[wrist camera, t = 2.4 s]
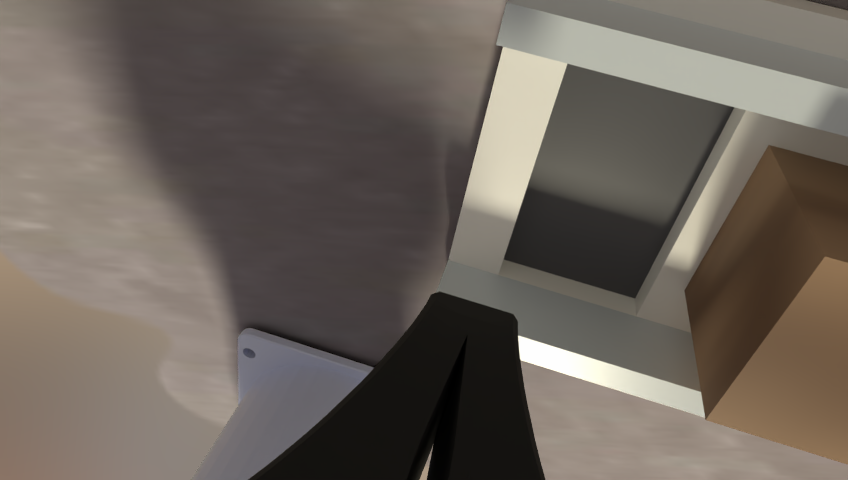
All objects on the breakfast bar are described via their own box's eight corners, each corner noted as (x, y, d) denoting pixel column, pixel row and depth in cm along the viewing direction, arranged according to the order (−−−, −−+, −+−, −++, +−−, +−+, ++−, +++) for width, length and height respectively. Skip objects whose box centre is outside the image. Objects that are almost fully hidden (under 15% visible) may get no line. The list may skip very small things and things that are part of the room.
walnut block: (853, 340, 16) (924, 488, 12) (684, 290, 16) (705, 419, 13) (974, 199, 13) (1109, 336, 10) (768, 145, 14) (825, 256, 10)
